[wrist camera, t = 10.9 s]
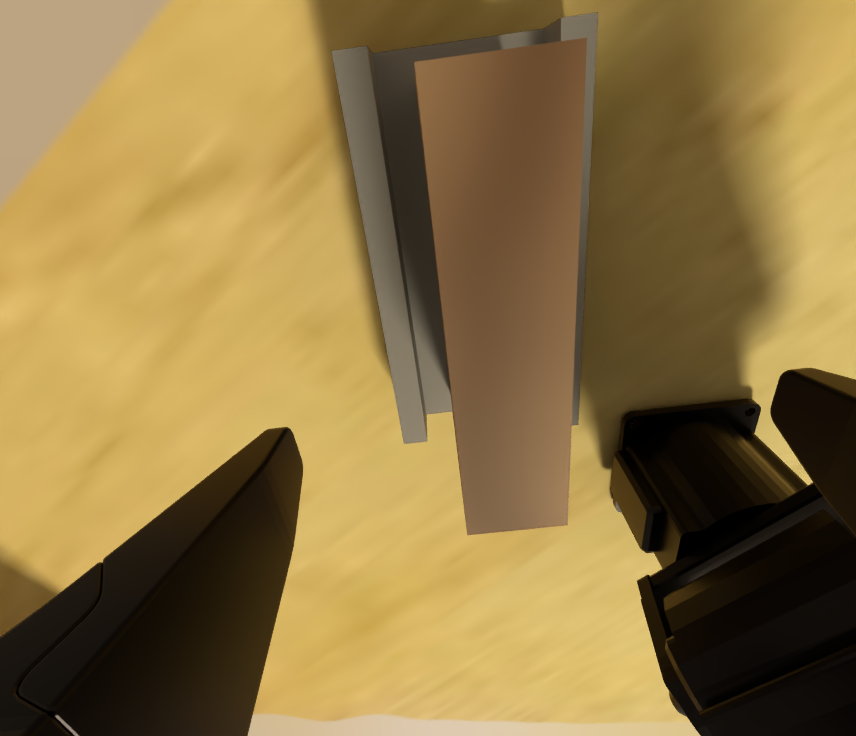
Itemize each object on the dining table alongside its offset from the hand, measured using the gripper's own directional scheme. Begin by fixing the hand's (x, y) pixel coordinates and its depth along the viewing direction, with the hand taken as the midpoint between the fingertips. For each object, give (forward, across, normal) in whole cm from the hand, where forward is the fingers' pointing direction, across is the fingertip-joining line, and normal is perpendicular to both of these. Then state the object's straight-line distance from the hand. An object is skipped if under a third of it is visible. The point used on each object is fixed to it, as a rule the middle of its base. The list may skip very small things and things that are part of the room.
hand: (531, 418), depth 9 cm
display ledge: (+12, 0, 0) cm, 12 cm away
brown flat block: (+11, 0, 0) cm, 11 cm away
